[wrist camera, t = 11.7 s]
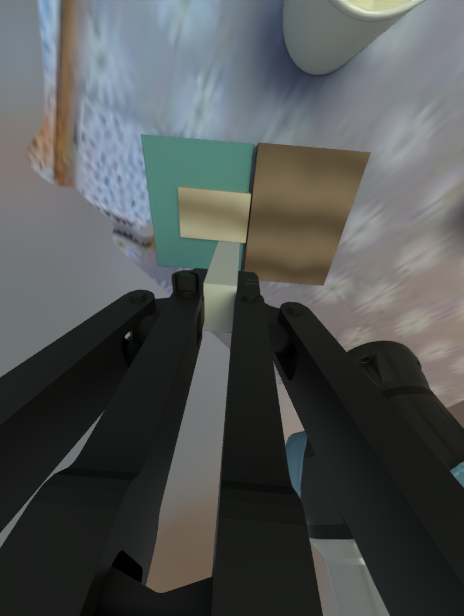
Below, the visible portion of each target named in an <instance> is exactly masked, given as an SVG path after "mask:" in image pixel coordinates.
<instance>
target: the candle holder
mask: <svg viewBox="0 0 464 616" xmlns="http://www.w3.org/2000/svg"><path fill="white" fill-rule="evenodd" d="M423 1H425V0H283V9H282V27H283V35H284V41H285V44H286V48H287V50H288V53H289V55H290V57H291V59H292V60H293V62H294V63H295V64H296V65H297V66H298V67H299V68H300V69H301V70H303V71H304V72H306V73H309V74H312V75H324V74H328V73H331V72H333V71H335V70H337V69H339V68H340V67H342V66H343V65H345V64H346V63H347V62H348V61H350V60H351V59H352V58H353V57H355V56H356V55H357V54H358V53H360V52H361V51H362V50H363V49H365V48H366V47H367V46H368V45H369V44H371V43H372V42H373V41H374V40H375V39H377V38H378V37H379V36H380V35H381V34H383V33H384V32H385V31H386V30H388V29H389V28H390V27H391V26H392V25H394V24H395V23H396V22H397V21H398V20H400V19H401V18H402V17H403V16H405V15H406V14H407V13H408V12H409V11H411V10H412V9H413V8H415V7H416V6H418V5H419V4H421V3H422V2H423Z"/></svg>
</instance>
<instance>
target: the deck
mask: <svg viewBox="0 0 464 616" xmlns="http://www.w3.org/2000/svg"><path fill="white" fill-rule="evenodd" d="M370 153H371V152H359V151H348V150H336V149H325V148H313V147H302V146H290V145H279V144H267V143H258V145H257V154H256V163H255V172H254V181H253V190H252V199H251V208H250V217H249V226H248V235H247V244H246V253H245V262H244V271H245V272H254V273H255V274H256V275H257V276H258V280H266V281H278V282H289V283H300V284H312V285H324V282H325V280H326V277H327V274H328V271H329V268H330V266H331V263H332V260H333V257H334V254H335V252H336V249H337V246H338V243H339V240H340V237H341V235H342V232H343V229H344V226H345V223H346V221H347V218H348V215H349V212H350V209H351V207H352V204H353V201H354V198H355V195H356V192H357V190H358V187H359V184H360V181H361V178H362V176H363V173H364V170H365V167H366V164H367V162H368V159H369V156H370Z"/></svg>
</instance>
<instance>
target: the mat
mask: <svg viewBox="0 0 464 616" xmlns="http://www.w3.org/2000/svg"><path fill="white" fill-rule="evenodd" d="M141 139H142V147H143V154H144V162H145V169H146V177H147V184H148V192H149V200H150V207H151V215H152V222H153V230H154V237H155V245H156V252H157V260H158V265H161V266H172V267H184V268H203V269H209V267H210V264H211V261H212V258H213V256H214V253H215V250H216V247H217V244H218V242H219V241H218V240H207V239H197V238H186V237H181V234H180V217H179V199H178V187H180V186H184V187H195V188H205V189H216V190H226V191H237V192H247V193H248V192H249V182H250V172H251V163H252V153H253V144H245V143H233V142H222V141H210V140H199V139H187V138H176V137H165V136H153V135H142V134H141ZM223 242H229V241H223ZM234 243H239V242H234ZM242 251H243V243H240V248H239V264H238V271H240V270H241V261H242Z"/></svg>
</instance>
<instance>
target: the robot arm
mask: <svg viewBox="0 0 464 616" xmlns="http://www.w3.org/2000/svg"><path fill="white" fill-rule="evenodd" d="M239 248H240V243H234V242H223V241H219V242H218V244H217V247H216V250H215V253H214V256H213V258H212V261H211V264H210V267H209V269H203V268H195V269H193V270H192V271H191V270H183V271H178V272H175V273H174V274H172V284H173V293H172V295H171V296H170V297H169V298H161V299H155V297H154V294H153V293H152V292H150V291H148V290H135V291H132V292H129V293H127V294H125V295H123V296H122V297H120V298H119V299H117V300H116V301H114V302H113V303H111V304H110V305H108V306H107V307H105V308H104V309H102V310H101V311H99V312H98V313H96V314H95V315H93V316H92V317H90V318H89V319H87V320H86V321H84V322H83V323H81V324H80V325H79V326H77V327H76V328H74V329H72V330H71V331H69V332H68V333H66V334H65V335H63V336H62V337H60V338H59V339H57V340H56V341H54V342H53V343H51V344H50V345H48V346H47V347H45V348H44V349H42V350H41V351H39V352H38V353H36V354H35V355H33V356H32V357H30V358H29V359H27V360H26V361H24V362H23V363H21V364H20V365H18V366H17V367H15V368H14V369H12V370H11V371H9V372H8V373H6V374H5V375H3V376H2V377H0V533H1V531H2V530H3V529H4V528H5V527H6V526H7V524H8V523H9V522H10V521H11V520H12V519H13V517H14V516H15V515H16V514H17V513H18V511H19V510H20V509H21V508H22V507H23V506H24V504H25V503H26V502H27V501H28V500H29V498H30V497H31V496H32V495H33V494H34V493H35V491H36V490H37V489H38V488H39V487H40V486H41V484H42V483H43V482H44V481H45V480H46V479H47V477H48V476H49V475H50V474H51V473H52V472H53V470H54V469H55V468H56V467H57V466H58V464H59V463H60V462H61V461H62V460H63V459H64V457H65V456H66V455H67V454H68V453H69V452H70V450H71V449H72V448H73V447H74V446H75V444H76V443H77V442H78V441H79V440H80V439H81V437H82V436H83V435H84V434H85V433H86V432H87V430H88V429H89V428H90V427H91V426H92V424H93V423H94V422H95V421H96V420H97V418H98V417H99V416H100V415H101V414H102V412H103V414H102V416H101V418H100V419H99V421H98V423H97V425H96V426H95V428H94V430H93V431H92V433H91V435H90V437H89V438H88V440H87V442H86V444H85V445H84V447H83V449H82V450H81V452H80V454H79V455H78V457H77V458H76V460H75V461H74V462H73V463H72V465H70V466H69V467H68V468H66V469H64V470H62V471H60V472H58V473H55V474H54V475H53V476H52V477H51V478H49V480H47V481H46V482H45V483H44V484H43V485H42V487H41V488H40V489H39V491H38V492H37V493H36V495H35V496H34V497H33V499H32V500H31V501H30V503H29V504H28V506H27V507H26V509H25V511H24V512H23V514H22V515H21V517H20V518H19V520H18V522H17V523H16V525H15V526H14V528H13V529H12V531H11V532H10V534H9V535H8V537H7V539H6V540H5V542H4V543H3V545H2V546H1V548H0V616H323V614H322V608H321V602H320V597H319V591H318V585H317V579H316V574H315V568H314V562H313V557H312V551H311V545H310V542H311V543H312V544H313V545H314V546H315V547H316V548H317V549H318V551H319V552H320V553H321V554H322V556H323V557H324V559H325V561H326V566H327V570H328V574H329V579H330V583H331V587H332V591H333V596H334V600H335V604H336V609H337V613H338V616H464V428H463V427H462V426H461V425H460V424H459V422H458V421H457V420H456V419H455V418H454V417H453V415H452V414H451V413H450V412H449V411H448V410H447V408H446V407H445V406H444V405H443V404H442V403H441V401H440V400H439V399H438V398H437V397H436V396H435V394H434V393H433V392H432V391H431V389H430V388H429V385H428V382H427V380H426V378H425V376H424V374H423V372H422V371H421V364H420V362H419V360H418V358H417V357H416V356H415V355H414V354H413V352H412V351H411V350H410V349H409V348H408V347H406V346H405V345H403V344H400V343H397V342H391V341H380V342H373V343H368V344H365V345H362V346H359V347H357V348H355V349H353V350H351V351H350V352H348V353H347V352H346V351H345V350H344V349H343V347H342V346H341V345H340V344H339V343H338V342H337V340H336V339H335V338H334V337H333V336H332V335H331V334H330V332H329V331H328V330H327V329H326V328H325V327H324V325H323V324H322V323H321V322H320V321H319V320H318V319H317V317H316V316H315V315H314V314H313V313H312V312H311V310H310V309H309V308H307V307H306V306H304V305H302V304H300V303H297V302H287V303H284V304H282V305H281V307H280V309H279V308H275V307H272V306H269V305H268V304H266V303H264V298H263V296H261V295H260V288H259V280H258V276H257V275H256V274H255V273H254V272H245V271H238V264H239ZM203 325H204V331H214V332H226V333H232V337H231V348H230V362H229V375H228V386H227V399H226V411H225V423H224V435H223V447H222V460H221V472H220V484H219V497H218V509H217V520H216V532H215V543H214V556H213V568H212V577H210V578H207V579H204V580H201V581H198V582H195V583H192V584H189V585H186V586H183V587H180V588H177V589H174V590H171V591H168V592H165V593H157V592H155V591H153V590H152V589H150V588H148V587H147V586H146V582H147V578H148V573H149V569H150V565H151V561H152V557H153V552H154V548H155V543H156V537H157V531H158V521H159V513H160V507H161V503H162V499H163V494H164V490H165V486H166V482H167V478H168V474H169V470H170V466H171V462H172V458H173V454H174V450H175V446H176V442H177V438H178V434H179V430H180V425H181V422H182V418H183V413H184V410H185V406H186V401H187V397H188V393H189V389H190V385H191V381H192V377H193V373H194V369H195V365H196V361H197V357H198V353H199V349H200V345H201V340H202V329H203ZM128 332H130V336H129V337H128V338H127V339H125V335H126V334H127V333H128ZM273 361H274V364H275V366H276V368H277V370H278V372H279V375H280V377H281V379H282V381H283V384H284V386H285V388H286V390H287V392H288V395H289V397H290V399H291V401H292V403H293V406H294V408H295V410H296V412H297V414H298V417H299V419H300V421H301V423H302V425H303V428H304V430H305V431H302V432H298V433H294V434H292V435H291V436H290V437H289V438H288V440H287V443H286V448H285V441H284V435H283V427H282V421H281V413H280V406H279V399H278V393H277V386H276V379H275V372H274V365H273ZM104 410H105V411H104Z"/></svg>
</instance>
